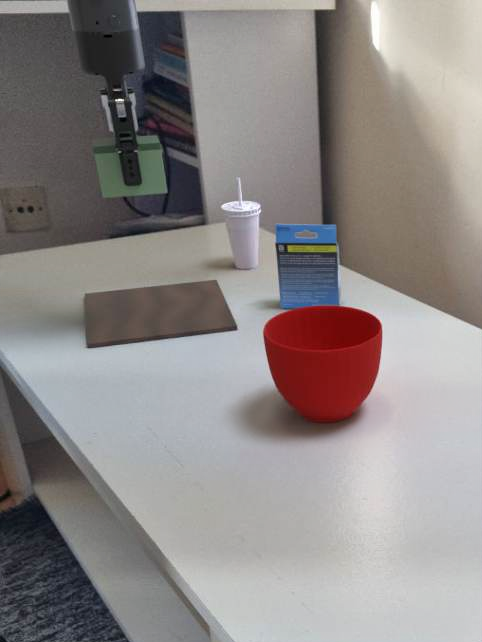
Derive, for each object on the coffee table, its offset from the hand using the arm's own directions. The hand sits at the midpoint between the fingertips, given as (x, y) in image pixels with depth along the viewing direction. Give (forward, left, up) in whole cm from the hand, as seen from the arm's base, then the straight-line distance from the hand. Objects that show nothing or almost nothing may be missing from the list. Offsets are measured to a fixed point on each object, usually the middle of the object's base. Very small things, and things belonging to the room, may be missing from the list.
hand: (132, 179), depth 103 cm
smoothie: (+16, +21, -19) cm, 33 cm away
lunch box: (0, 0, -1) cm, 1 cm away
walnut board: (0, +4, -19) cm, 20 cm away
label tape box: (+22, 0, -19) cm, 30 cm away
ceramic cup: (+17, -31, -19) cm, 41 cm away
